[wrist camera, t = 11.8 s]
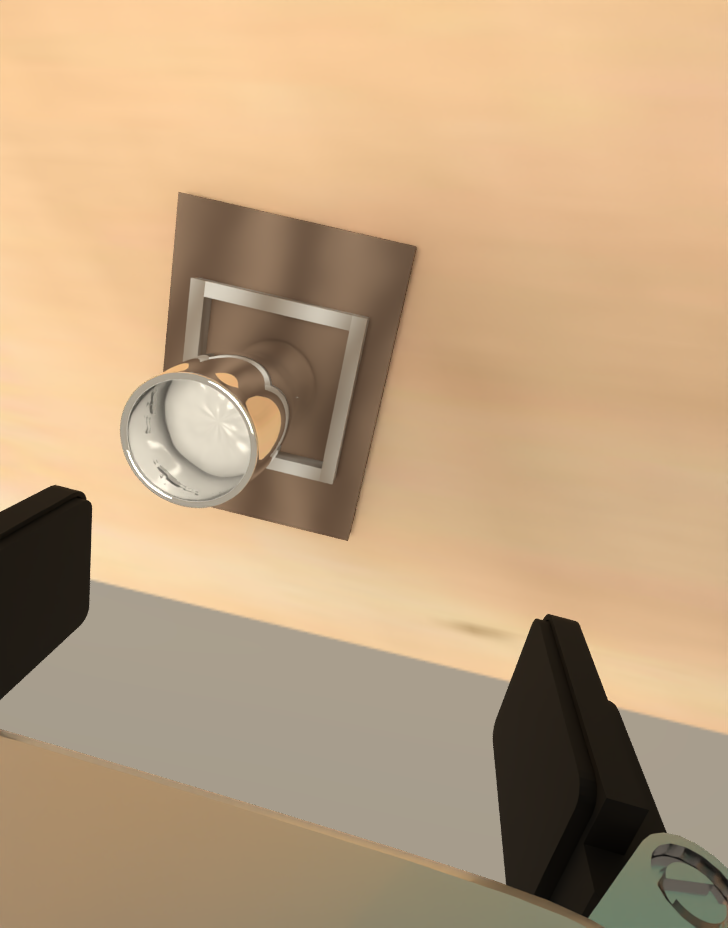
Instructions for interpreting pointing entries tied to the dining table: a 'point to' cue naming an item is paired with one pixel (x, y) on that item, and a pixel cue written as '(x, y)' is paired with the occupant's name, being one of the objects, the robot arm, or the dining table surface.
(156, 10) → the dining table surface
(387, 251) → the walnut board
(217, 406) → the beer glass
